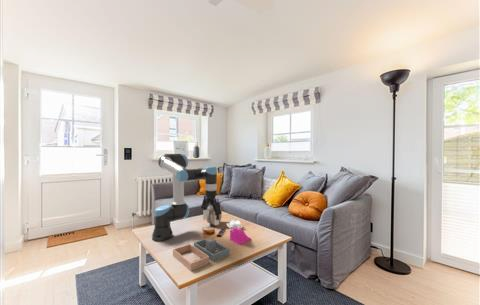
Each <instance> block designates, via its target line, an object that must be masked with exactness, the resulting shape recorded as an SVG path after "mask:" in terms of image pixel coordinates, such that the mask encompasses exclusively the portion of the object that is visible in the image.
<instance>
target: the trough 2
mask: <svg viewBox="0 0 480 305" xmlns="http://www.w3.org/2000/svg"><path fill="white" fill-rule="evenodd" d="M209 238H210V237H207V238H203V239H201V240H197V241H194V242H193V246H194V247H196V248H197V249H199V250H200V251H202V252H203V253H205V254H206V255H208V256H209V261H212V262H215V261H218V260H220V259H223V258H225V257H228V256H230V249H229V248H228V247H226V246H225V245H223V244H221V243H219V242H217V241H216V250H219V251H218V252H215V253H211V252H209V251H207V250H206V248H204V247H203V246H206V239H209Z"/></svg>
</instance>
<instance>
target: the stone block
mask: <svg viewBox="0 0 480 305" xmlns="http://www.w3.org/2000/svg"><path fill="white" fill-rule="evenodd" d="M208 238H209V239H207V238H205V239H206V245H205V249H206V250H207V251H209V252H211V253H212V254H216V253H217V249H216V242H217V239H215V238H214V237H208Z"/></svg>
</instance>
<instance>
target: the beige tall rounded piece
mask: <svg viewBox="0 0 480 305" xmlns="http://www.w3.org/2000/svg"><path fill="white" fill-rule="evenodd" d="M220 209H221V213H222V210H223V209H222V208H221V206H220ZM222 214H223V213H222ZM222 214H219V224H221V221H222V217H223V216H222ZM206 222H207V223H208V224H210V226H215V227H216V226H218V225H215V211H214V209H213V207H212V206H211V205H208V207H207V219H206Z"/></svg>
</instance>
